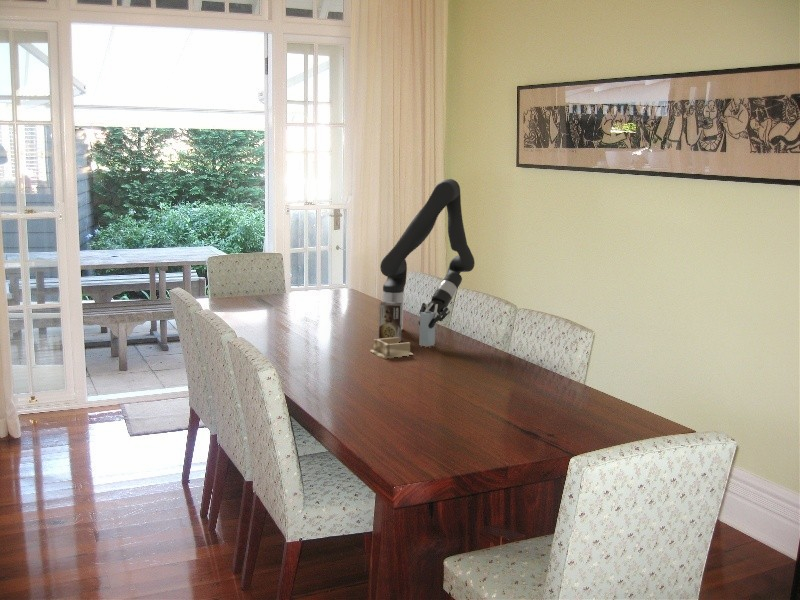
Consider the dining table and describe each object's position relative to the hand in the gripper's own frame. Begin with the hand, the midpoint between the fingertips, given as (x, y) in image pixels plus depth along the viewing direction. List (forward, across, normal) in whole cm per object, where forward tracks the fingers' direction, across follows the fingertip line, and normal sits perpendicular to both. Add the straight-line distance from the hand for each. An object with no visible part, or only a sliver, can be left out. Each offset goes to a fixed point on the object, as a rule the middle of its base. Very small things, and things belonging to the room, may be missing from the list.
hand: (425, 326), depth 362 cm
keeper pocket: (+19, -1, -7) cm, 20 cm away
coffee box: (+9, -16, +4) cm, 19 cm away
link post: (+5, 0, +7) cm, 9 cm away
